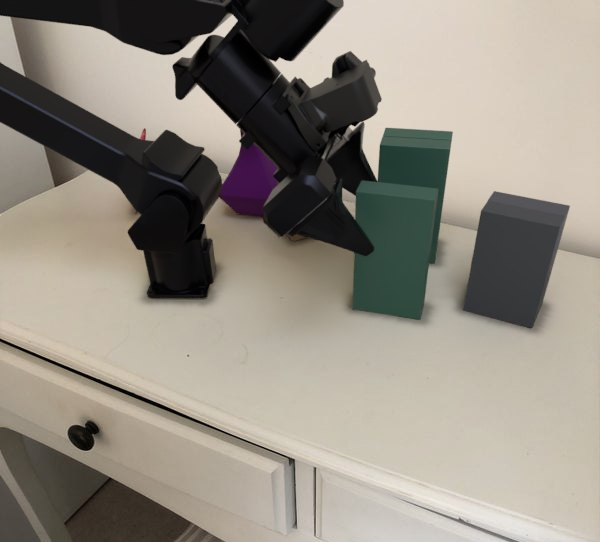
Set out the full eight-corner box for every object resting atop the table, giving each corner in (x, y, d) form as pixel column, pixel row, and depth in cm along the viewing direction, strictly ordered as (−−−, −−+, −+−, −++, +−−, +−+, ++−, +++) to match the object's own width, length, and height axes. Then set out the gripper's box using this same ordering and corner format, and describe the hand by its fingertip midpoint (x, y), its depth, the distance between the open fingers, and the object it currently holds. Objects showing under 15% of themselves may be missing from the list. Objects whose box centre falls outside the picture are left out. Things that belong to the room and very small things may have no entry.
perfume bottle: (276, 224, 80) (267, 67, 67) (219, 218, 81) (200, 64, 69) (291, 197, 85) (286, 47, 72) (238, 192, 86) (223, 44, 74)
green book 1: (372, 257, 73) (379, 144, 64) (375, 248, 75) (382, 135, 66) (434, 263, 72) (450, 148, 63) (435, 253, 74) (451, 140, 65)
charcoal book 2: (468, 299, 67) (487, 200, 59) (475, 288, 68) (494, 190, 61) (536, 316, 64) (565, 215, 57) (541, 305, 66) (570, 205, 58)
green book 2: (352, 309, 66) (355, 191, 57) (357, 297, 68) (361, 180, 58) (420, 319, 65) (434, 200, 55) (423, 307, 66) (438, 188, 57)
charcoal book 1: (462, 310, 66) (480, 210, 58) (469, 299, 67) (487, 200, 59) (531, 328, 63) (560, 226, 56) (537, 316, 64) (565, 215, 57)
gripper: (298, 63, 44) (440, 226, 50) (344, 0, 57) (451, 134, 63) (202, 167, 51) (337, 299, 56) (263, 89, 64) (367, 202, 69)
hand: (377, 228), depth 61 cm, fingers open, 9 cm apart
